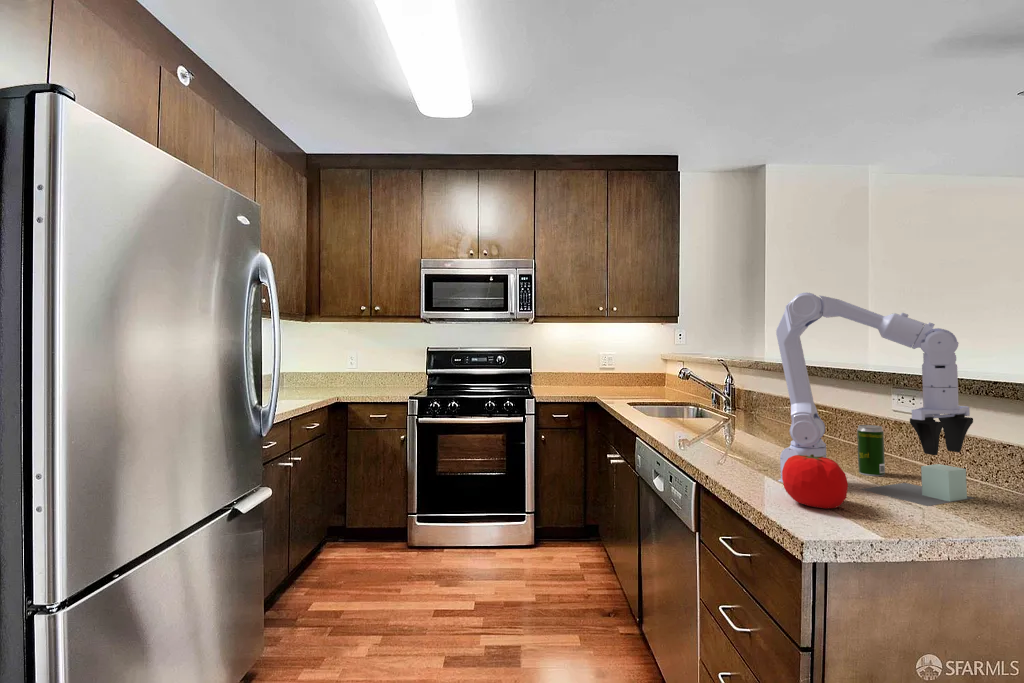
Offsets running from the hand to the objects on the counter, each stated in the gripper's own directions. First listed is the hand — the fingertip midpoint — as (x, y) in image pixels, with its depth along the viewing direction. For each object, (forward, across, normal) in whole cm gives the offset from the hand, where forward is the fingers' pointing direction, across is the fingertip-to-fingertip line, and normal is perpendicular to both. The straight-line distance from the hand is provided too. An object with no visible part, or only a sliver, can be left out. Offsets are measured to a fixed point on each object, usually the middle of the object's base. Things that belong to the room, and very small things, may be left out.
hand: (942, 452), depth 110 cm
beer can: (+10, +6, +20) cm, 23 cm away
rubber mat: (+9, -2, +4) cm, 11 cm away
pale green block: (+9, 0, 0) cm, 9 cm away
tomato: (+10, -27, +7) cm, 29 cm away
